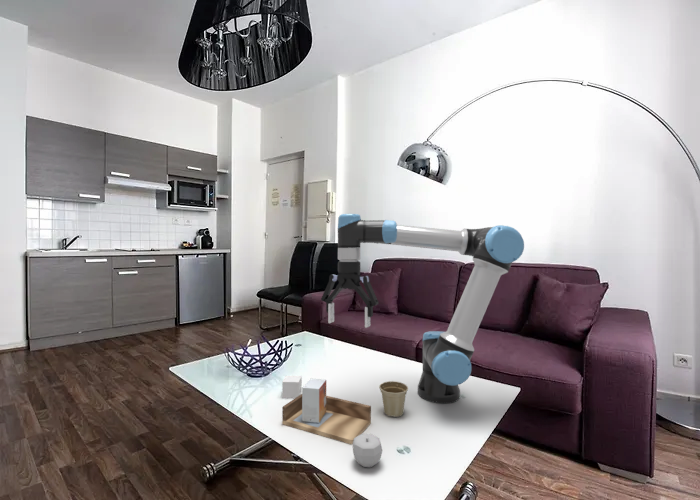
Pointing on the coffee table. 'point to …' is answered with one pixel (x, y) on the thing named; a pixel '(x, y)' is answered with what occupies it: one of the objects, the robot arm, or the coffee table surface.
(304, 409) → the small box
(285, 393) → the white cube
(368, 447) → the apple
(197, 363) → the coffee table surface
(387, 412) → the flower pot
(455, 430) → the coffee table surface
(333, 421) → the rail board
